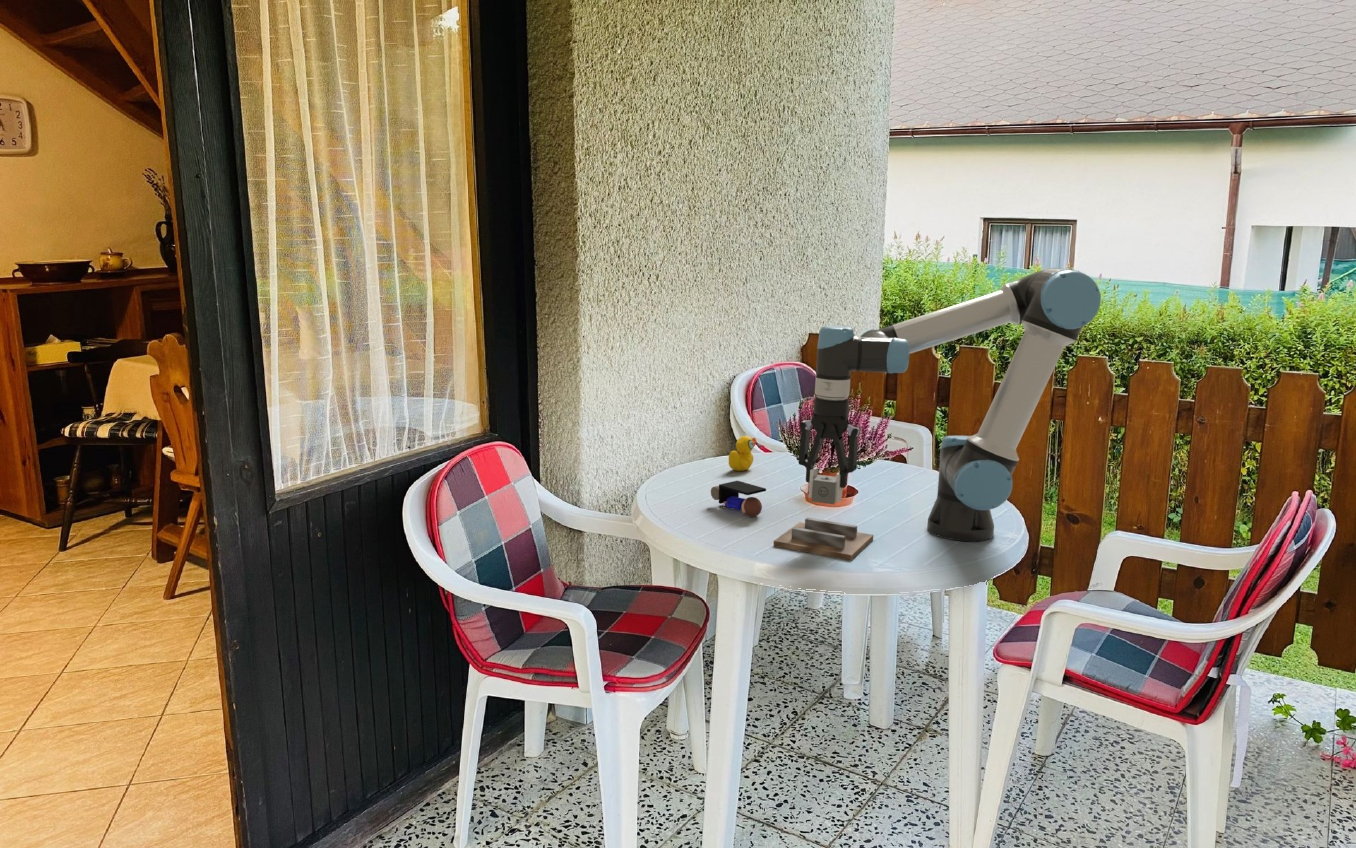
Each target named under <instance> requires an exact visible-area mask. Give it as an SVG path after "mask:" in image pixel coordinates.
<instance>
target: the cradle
mask: <svg viewBox="0 0 1356 848" xmlns="http://www.w3.org/2000/svg"><path fill="white" fill-rule="evenodd" d="M872 541H874V534H870V533H865V532H858V525H854V524H847V523H843V522H838V521H837V522H836V521H831V520H824V519H819V518H813V517H806V518H805V519H804V522H800V521H799V522H798V523H796V524H794V526H792V527H791V528H789V529H788V530H787V531H785V532H784V533H782V534H781V535H780V536H779V537H777V538H776V539H774V540H773V546H774V547H776V546H777V547H778V548H783V549H788V550H793V551H794V550H795V551H800V552H803V553H810V554H814V555H820V556H826V557H830V558H836V559H842V560H847V561H853V560H854V558H855V557H857V556H858V555H859V554H860V553H861V552H862V551H863V550H864V549H865V548H866V547H867V546H868V545H869V544H871V542H872Z"/></svg>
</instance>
